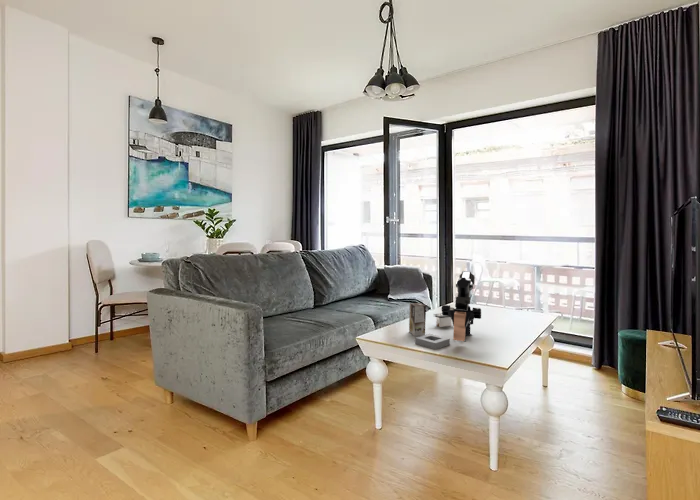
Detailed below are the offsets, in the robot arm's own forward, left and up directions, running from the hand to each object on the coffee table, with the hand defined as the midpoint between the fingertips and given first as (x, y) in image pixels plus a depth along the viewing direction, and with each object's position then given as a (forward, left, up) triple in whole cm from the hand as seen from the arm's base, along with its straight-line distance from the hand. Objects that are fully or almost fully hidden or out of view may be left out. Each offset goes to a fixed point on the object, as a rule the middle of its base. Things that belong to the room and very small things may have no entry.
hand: (459, 326), depth 192 cm
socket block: (-9, -9, -10) cm, 16 cm away
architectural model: (-36, +22, -11) cm, 43 cm away
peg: (-1, +1, -7) cm, 7 cm away
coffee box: (-28, -4, -10) cm, 30 cm away
